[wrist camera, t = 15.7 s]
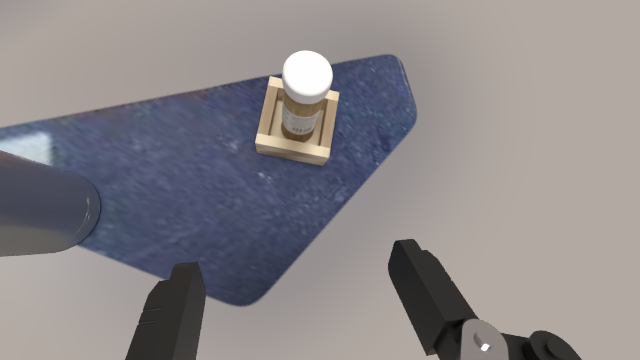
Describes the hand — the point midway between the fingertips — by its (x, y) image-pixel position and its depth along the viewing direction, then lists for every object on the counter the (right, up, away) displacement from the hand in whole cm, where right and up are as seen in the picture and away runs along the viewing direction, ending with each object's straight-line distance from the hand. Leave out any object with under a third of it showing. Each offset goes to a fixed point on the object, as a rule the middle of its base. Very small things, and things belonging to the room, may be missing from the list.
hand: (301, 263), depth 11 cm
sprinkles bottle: (-2, +10, +26) cm, 28 cm away
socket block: (-2, +11, +27) cm, 29 cm away
